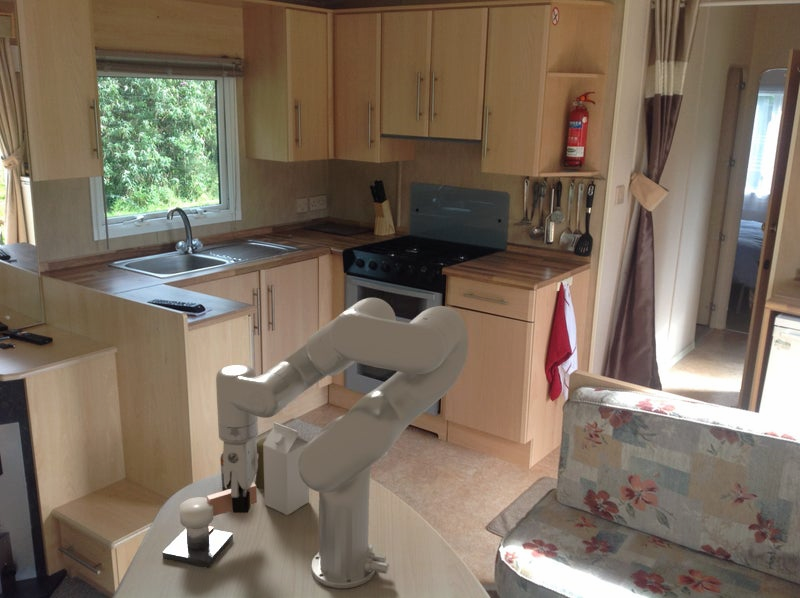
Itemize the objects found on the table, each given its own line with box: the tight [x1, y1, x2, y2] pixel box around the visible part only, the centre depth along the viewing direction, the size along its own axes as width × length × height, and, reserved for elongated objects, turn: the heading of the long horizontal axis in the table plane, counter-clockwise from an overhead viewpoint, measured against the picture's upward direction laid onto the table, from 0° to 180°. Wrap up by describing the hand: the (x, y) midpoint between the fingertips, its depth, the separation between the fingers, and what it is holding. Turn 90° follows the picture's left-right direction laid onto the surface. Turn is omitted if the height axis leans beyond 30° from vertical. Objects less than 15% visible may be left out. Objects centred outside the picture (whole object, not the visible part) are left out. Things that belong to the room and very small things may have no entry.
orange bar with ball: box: [179, 481, 258, 528], centre depth 150 cm, size 16×6×4 cm, turn 125°
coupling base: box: [162, 523, 234, 569], centre depth 149 cm, size 10×10×6 cm
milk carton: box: [263, 421, 310, 516], centre depth 164 cm, size 7×7×19 cm
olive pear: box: [254, 437, 267, 490], centre depth 174 cm, size 6×6×11 cm
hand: (241, 510), depth 150 cm, fingers closed
